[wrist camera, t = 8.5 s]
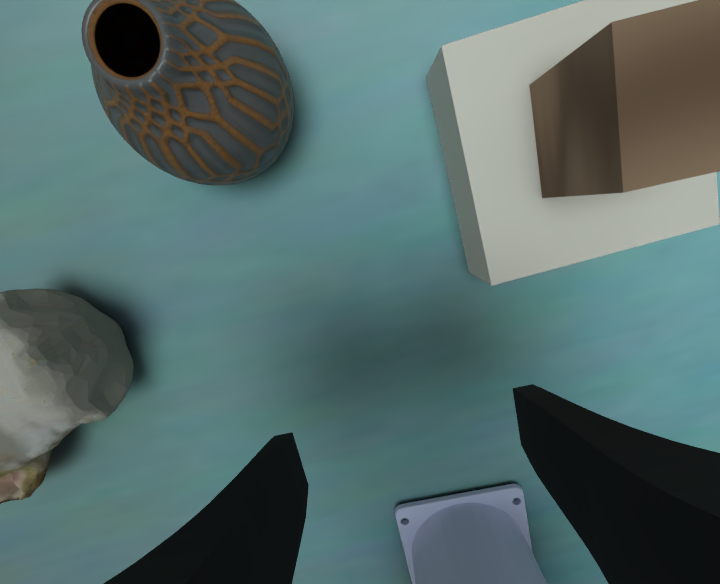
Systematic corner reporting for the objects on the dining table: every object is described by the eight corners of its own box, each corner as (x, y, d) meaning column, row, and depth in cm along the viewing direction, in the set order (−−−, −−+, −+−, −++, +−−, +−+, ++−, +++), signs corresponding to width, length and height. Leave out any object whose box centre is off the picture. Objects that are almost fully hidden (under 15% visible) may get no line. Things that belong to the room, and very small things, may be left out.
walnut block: (650, 173, 15) (784, 156, 10) (542, 198, 16) (623, 192, 11) (644, 56, 14) (788, -23, 9) (529, 84, 15) (611, 21, 10)
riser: (648, 220, 20) (719, 224, 16) (466, 270, 20) (491, 285, 16) (627, 17, 18) (702, -38, 14) (424, 80, 18) (441, 45, 14)
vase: (309, 48, 18) (258, -103, 9) (300, 195, 19) (248, 186, 11) (166, 32, 17) (-23, -136, 9) (168, 181, 19) (9, 160, 10)
